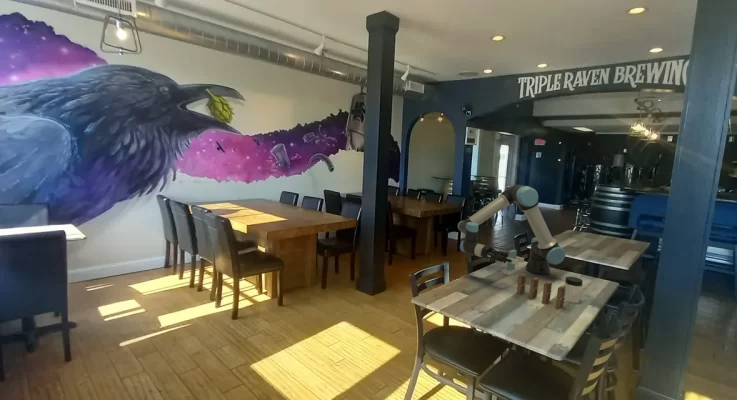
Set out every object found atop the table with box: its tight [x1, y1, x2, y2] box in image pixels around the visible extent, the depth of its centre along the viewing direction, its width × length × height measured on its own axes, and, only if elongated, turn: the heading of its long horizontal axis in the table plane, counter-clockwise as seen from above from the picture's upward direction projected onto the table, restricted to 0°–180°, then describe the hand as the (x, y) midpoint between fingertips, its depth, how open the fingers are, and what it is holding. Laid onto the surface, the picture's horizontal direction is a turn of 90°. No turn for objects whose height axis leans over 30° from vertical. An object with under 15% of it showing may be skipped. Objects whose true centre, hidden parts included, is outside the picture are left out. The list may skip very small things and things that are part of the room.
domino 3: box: [541, 281, 553, 305], centre depth 195 cm, size 6×2×11 cm, turn 131°
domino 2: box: [528, 277, 540, 301], centre depth 200 cm, size 6×2×11 cm, turn 131°
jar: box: [563, 276, 583, 304], centre depth 200 cm, size 9×8×12 cm
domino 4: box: [555, 284, 566, 310], centre depth 190 cm, size 6×2×11 cm, turn 131°
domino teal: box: [506, 249, 518, 272], centre depth 209 cm, size 6×2×11 cm, turn 131°
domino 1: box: [515, 273, 527, 296], centre depth 205 cm, size 6×2×11 cm, turn 131°
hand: (520, 261), depth 205 cm, fingers closed on domino teal, 6 cm apart
